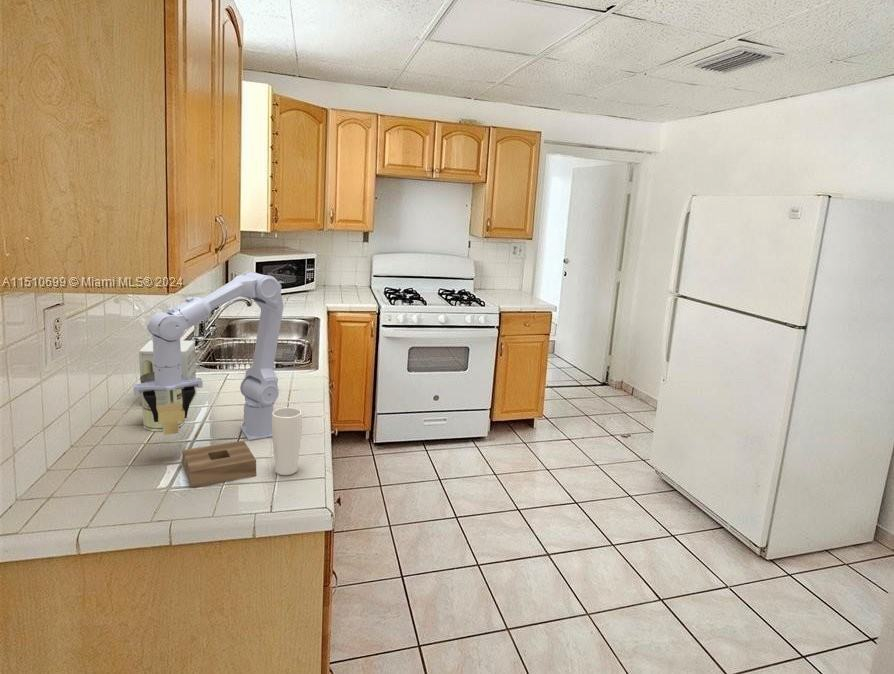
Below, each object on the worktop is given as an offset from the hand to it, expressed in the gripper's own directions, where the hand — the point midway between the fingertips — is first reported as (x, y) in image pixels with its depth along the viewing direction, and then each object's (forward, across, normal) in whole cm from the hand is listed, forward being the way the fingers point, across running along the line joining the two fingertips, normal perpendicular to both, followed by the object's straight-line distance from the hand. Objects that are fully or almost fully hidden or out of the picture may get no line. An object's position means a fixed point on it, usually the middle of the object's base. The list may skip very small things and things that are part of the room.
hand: (170, 418), depth 135 cm
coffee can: (+11, +1, +23) cm, 26 cm away
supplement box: (+11, +5, +43) cm, 45 cm away
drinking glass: (+11, +23, -17) cm, 31 cm away
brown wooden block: (+10, +9, -11) cm, 17 cm away
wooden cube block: (+3, 0, 0) cm, 3 cm away
